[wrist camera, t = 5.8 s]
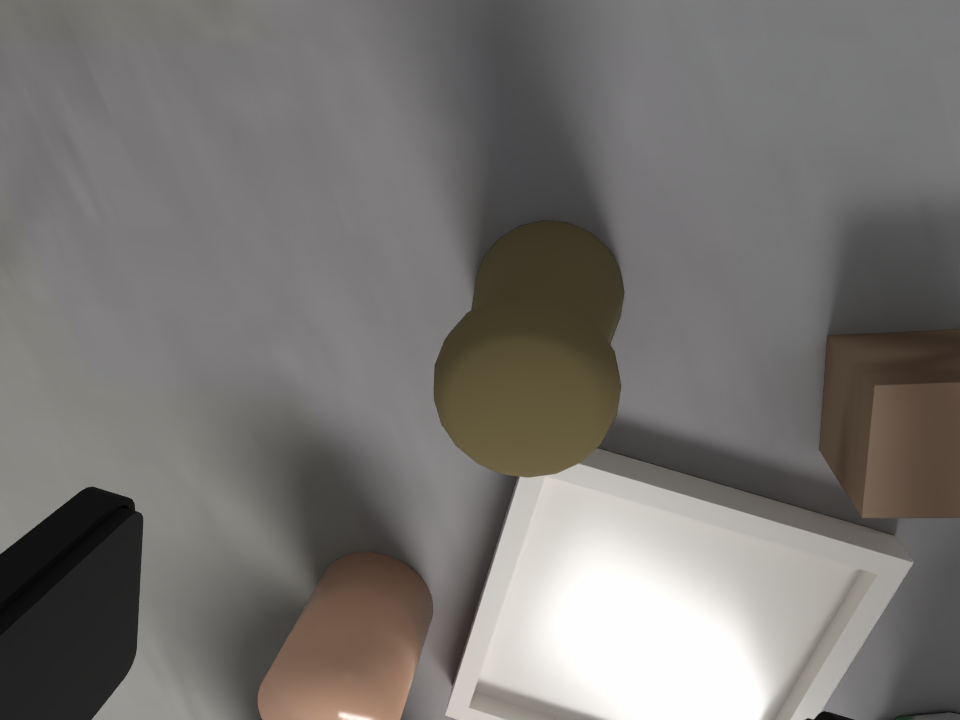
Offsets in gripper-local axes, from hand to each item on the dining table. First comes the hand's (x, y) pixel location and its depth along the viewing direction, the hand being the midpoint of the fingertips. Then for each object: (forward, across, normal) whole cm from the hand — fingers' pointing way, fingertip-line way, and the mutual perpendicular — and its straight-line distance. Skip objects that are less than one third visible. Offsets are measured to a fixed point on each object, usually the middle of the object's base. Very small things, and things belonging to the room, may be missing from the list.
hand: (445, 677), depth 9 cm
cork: (+20, 0, 0) cm, 20 cm away
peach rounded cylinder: (+20, +4, +18) cm, 27 cm away
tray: (+20, -9, +14) cm, 26 cm away
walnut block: (+20, -14, 0) cm, 24 cm away
